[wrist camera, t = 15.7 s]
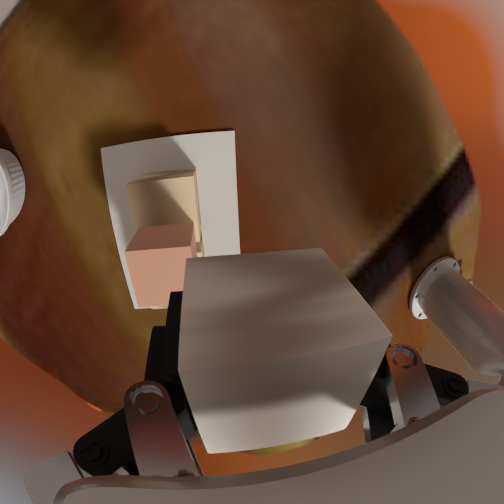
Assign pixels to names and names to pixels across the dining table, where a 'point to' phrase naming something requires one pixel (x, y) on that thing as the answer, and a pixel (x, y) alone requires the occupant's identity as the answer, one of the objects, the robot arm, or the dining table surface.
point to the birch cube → (274, 348)
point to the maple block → (165, 199)
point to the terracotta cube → (159, 261)
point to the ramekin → (10, 189)
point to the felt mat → (174, 158)
